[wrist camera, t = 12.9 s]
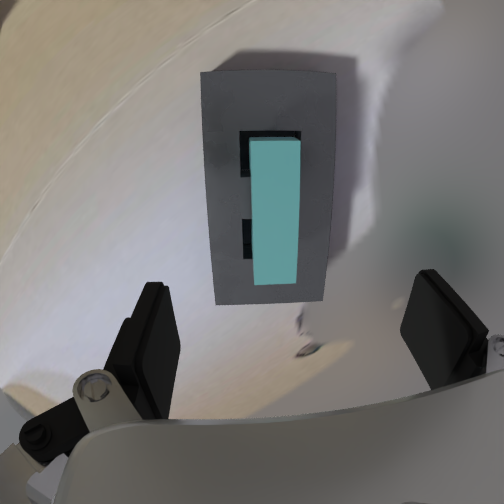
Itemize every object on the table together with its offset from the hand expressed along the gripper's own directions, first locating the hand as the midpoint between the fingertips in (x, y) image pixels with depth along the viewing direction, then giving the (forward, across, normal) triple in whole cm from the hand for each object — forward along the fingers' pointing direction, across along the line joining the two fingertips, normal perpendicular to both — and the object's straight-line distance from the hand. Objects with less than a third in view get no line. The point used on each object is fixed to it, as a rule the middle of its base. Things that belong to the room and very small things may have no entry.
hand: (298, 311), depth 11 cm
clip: (+17, 0, 0) cm, 17 cm away
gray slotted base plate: (+17, 0, 0) cm, 17 cm away
